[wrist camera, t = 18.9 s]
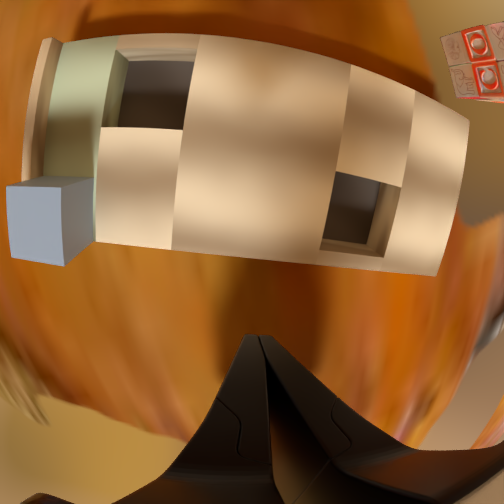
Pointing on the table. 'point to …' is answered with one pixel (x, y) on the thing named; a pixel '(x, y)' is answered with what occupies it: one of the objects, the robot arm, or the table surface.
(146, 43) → the board
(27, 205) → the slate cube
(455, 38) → the stack of blocks
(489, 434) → the table surface
